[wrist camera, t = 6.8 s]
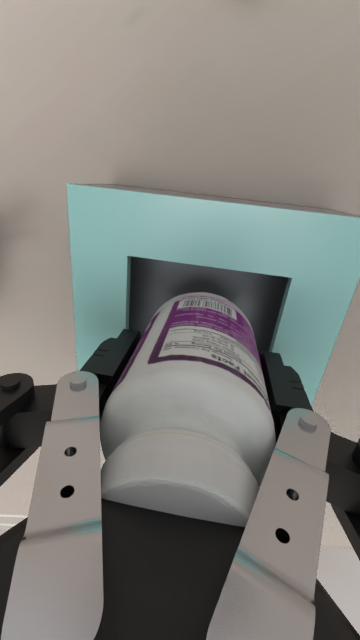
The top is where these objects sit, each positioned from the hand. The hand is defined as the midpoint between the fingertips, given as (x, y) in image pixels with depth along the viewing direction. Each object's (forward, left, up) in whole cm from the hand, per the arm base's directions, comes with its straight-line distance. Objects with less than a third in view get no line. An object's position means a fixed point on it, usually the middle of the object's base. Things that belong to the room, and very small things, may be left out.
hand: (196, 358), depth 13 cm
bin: (0, 0, -8) cm, 8 cm away
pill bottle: (0, 0, -2) cm, 2 cm away
